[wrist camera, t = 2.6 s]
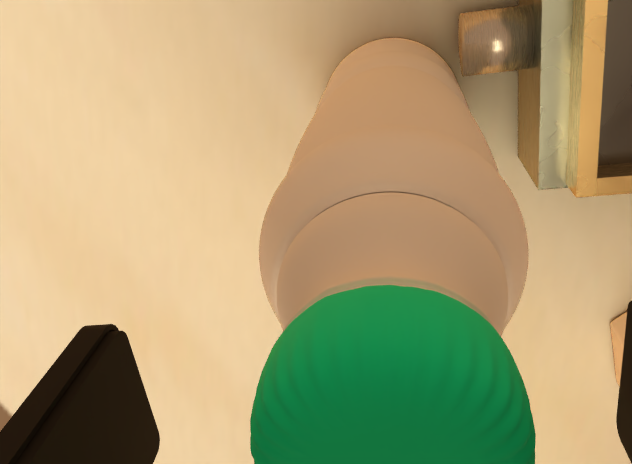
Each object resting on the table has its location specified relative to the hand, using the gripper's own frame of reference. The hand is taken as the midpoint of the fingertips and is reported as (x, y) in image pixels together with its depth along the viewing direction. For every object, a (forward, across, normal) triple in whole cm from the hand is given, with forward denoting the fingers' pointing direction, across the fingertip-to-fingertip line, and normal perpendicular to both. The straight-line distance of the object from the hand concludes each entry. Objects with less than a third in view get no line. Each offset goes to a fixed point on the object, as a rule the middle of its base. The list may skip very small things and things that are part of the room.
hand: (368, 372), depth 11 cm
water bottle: (+23, -1, +1) cm, 23 cm away
